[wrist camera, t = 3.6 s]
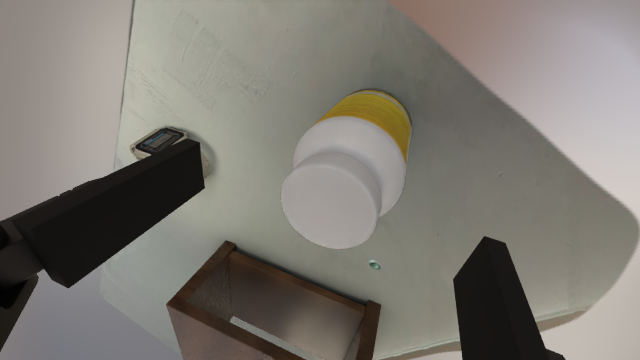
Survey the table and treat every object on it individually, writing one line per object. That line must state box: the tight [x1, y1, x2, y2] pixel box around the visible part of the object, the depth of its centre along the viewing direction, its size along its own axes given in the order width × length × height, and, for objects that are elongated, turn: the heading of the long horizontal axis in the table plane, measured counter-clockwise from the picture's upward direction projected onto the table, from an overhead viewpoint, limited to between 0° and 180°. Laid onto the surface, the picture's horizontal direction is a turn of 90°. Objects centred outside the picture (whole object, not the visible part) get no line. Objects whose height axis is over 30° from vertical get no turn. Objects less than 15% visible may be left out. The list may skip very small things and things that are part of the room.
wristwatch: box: [130, 128, 211, 178], centre depth 28 cm, size 9×6×5 cm
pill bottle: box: [281, 89, 412, 249], centre depth 16 cm, size 6×6×12 cm
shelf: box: [166, 241, 381, 360], centre depth 34 cm, size 22×16×10 cm
